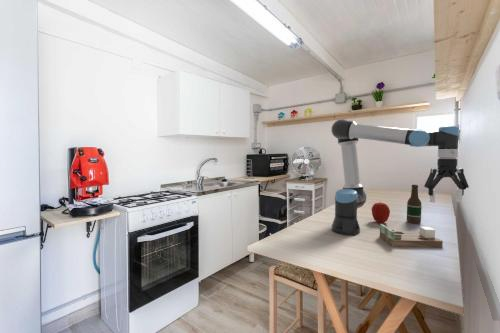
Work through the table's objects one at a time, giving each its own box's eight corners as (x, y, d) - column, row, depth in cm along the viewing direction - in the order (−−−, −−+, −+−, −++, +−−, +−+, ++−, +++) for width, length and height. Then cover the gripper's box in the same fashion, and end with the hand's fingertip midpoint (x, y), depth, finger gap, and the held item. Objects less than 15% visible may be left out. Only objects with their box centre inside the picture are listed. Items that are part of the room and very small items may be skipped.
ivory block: (419, 234, 124) (419, 226, 123) (428, 234, 123) (429, 226, 123) (425, 237, 119) (425, 229, 119) (434, 237, 119) (435, 229, 119)
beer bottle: (419, 224, 148) (420, 186, 147) (404, 222, 154) (405, 184, 153) (422, 222, 154) (424, 184, 152) (408, 219, 159) (409, 183, 158)
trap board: (379, 236, 129) (379, 223, 129) (424, 237, 128) (425, 224, 127) (392, 246, 116) (392, 232, 116) (442, 247, 115) (443, 232, 114)
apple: (391, 222, 154) (392, 200, 153) (386, 225, 147) (386, 203, 146) (374, 219, 162) (375, 198, 161) (368, 222, 155) (369, 200, 154)
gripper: (426, 158, 115) (424, 203, 117) (480, 158, 113) (477, 203, 115) (416, 158, 123) (415, 200, 124) (467, 157, 121) (465, 200, 122)
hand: (445, 202), depth 119 cm, fingers open, 12 cm apart
